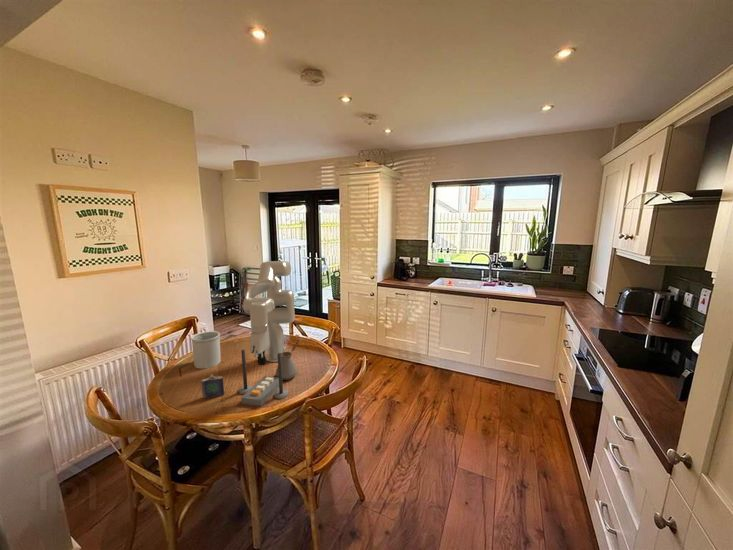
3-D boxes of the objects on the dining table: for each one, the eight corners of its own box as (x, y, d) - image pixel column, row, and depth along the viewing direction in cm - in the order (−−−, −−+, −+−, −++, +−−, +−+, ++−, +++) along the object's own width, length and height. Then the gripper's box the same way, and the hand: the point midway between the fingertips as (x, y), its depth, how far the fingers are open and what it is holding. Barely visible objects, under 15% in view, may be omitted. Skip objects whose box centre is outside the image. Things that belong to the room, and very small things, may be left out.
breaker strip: (264, 381, 152) (264, 373, 151) (282, 383, 150) (282, 375, 149) (241, 403, 132) (240, 394, 132) (261, 406, 130) (260, 397, 130)
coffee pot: (291, 383, 150) (289, 356, 148) (271, 380, 153) (269, 353, 150) (308, 364, 170) (308, 340, 168) (291, 362, 173) (290, 338, 171)
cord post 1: (243, 386, 147) (241, 347, 143) (255, 388, 145) (252, 348, 142) (236, 393, 140) (232, 352, 137) (247, 395, 139) (245, 353, 136)
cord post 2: (278, 390, 143) (276, 350, 140) (290, 392, 142) (288, 351, 138) (271, 398, 137) (269, 355, 133) (284, 399, 136) (282, 357, 132)
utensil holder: (227, 358, 178) (225, 331, 176) (212, 370, 164) (209, 340, 161) (204, 357, 180) (202, 330, 177) (187, 368, 165) (184, 339, 162)
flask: (202, 399, 136) (200, 378, 134) (203, 395, 138) (201, 375, 137) (223, 395, 139) (222, 374, 137) (224, 392, 141) (223, 372, 140)
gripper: (261, 322, 144) (263, 356, 147) (242, 333, 129) (245, 371, 133) (274, 323, 142) (276, 358, 146) (258, 334, 128) (260, 372, 131)
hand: (261, 364), depth 139 cm, fingers closed
